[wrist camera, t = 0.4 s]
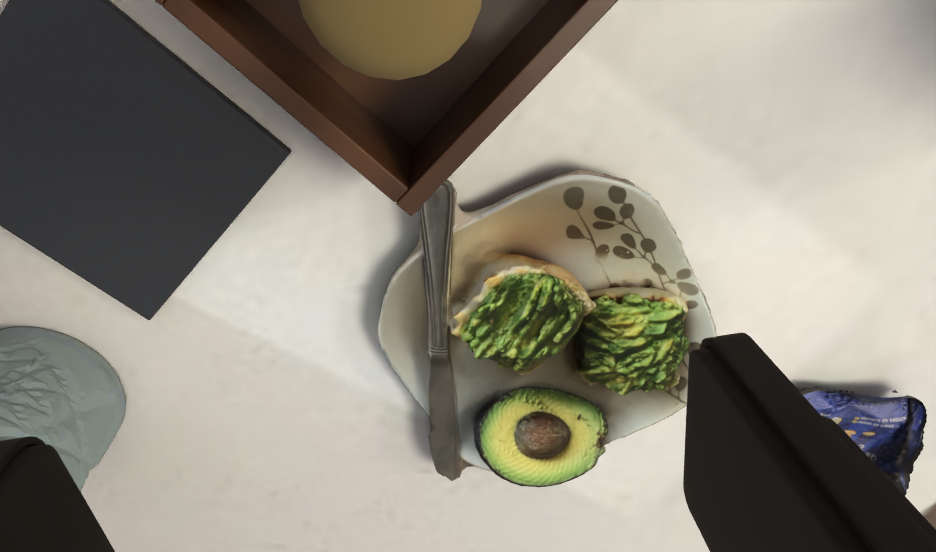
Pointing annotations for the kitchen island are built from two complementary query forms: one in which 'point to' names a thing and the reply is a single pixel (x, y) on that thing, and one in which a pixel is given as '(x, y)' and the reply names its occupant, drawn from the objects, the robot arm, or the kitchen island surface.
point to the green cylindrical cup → (59, 396)
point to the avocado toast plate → (543, 325)
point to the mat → (118, 149)
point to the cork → (391, 33)
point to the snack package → (878, 428)
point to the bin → (395, 82)
